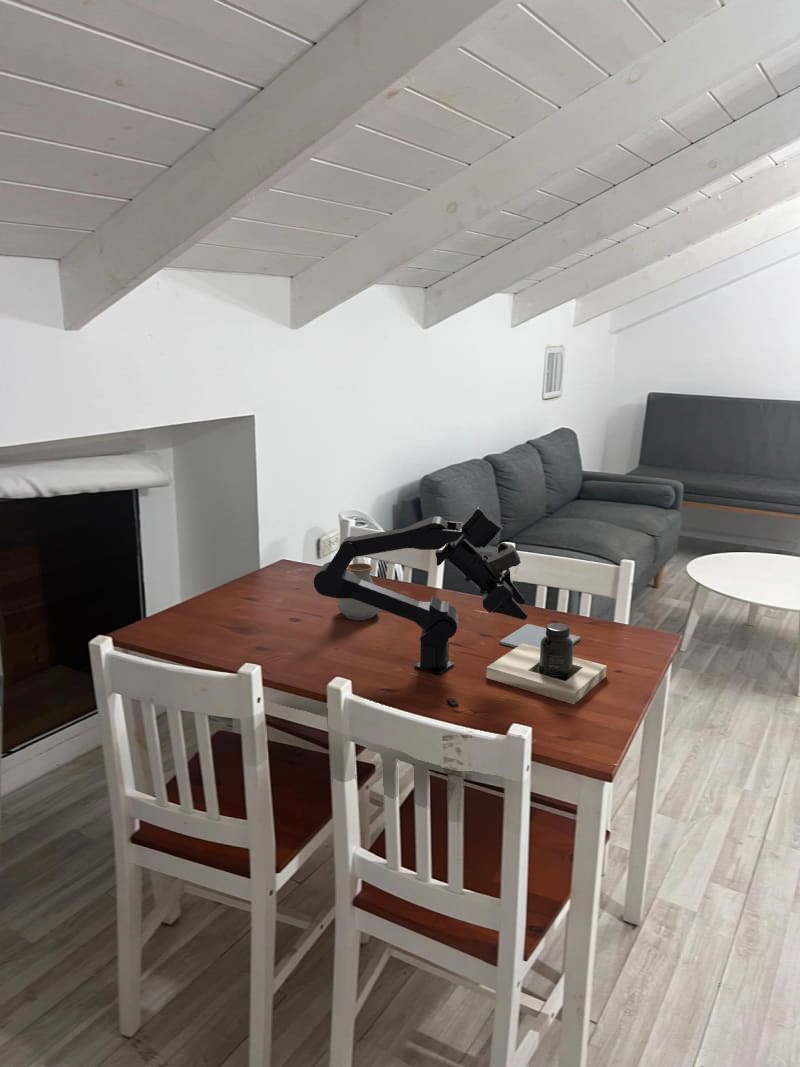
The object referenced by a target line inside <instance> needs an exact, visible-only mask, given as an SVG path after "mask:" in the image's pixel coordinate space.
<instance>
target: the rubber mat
mask: <svg viewBox="0 0 800 1067" xmlns="http://www.w3.org/2000/svg"><path fill="white" fill-rule="evenodd" d="M545 636H546V627H544V626H539V625H535V624H531V623H526V624H524V625H523V626H521V627H520V628H518V629H517V630H515V631H514V632H512V633H510V634H508V635H507V636H506V637H504V638H502V639H500V640H499V644H500V645H504V646H508V647H511V648H513V649H515V648H516V647H518V646H519V645H521V644H522V643H523V644H527V645H531V646H534V647H538V648H540V644H541V640H542V639H543V638H544V637H545ZM569 638H570V639H571V640H572V641H573V644H574V645H575V644H576V643H577V642H579V641H580V640H581V636H578V635H574V634H572V633H570V636H569Z"/></svg>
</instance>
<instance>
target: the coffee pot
mask: <svg viewBox="0 0 800 1067" xmlns="http://www.w3.org/2000/svg"><path fill="white" fill-rule="evenodd" d="M347 569H349V570H350V571H351V572H352V573H354V574H355V575H356V576H357V577H358V578H360V579H361V580H364V581H367V582H369V583H372V584H375V583H374V580H373V579H372V577H371V571H372V570H373V565H371V564H369V563H363V562H359V563H357V562H356V563H350V564H349V566H348V567H347ZM337 608H338V610H339V612H340V613H342V614H343V616H345V617H346V619H350V620H355V621H365V620H370V619H372V618H375V616H376V615H377V614H379V612H381V609H379V608H376V607H373V606H371V605H368V604H365V603H363V602H360V601H357V600H355V599H338V602H337Z"/></svg>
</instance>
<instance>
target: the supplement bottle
mask: <svg viewBox="0 0 800 1067" xmlns="http://www.w3.org/2000/svg"><path fill="white" fill-rule="evenodd" d="M545 628H546V636H545V637H544V638H543V639H542V640H541V644H540V665H539V673H538V674H542V675H545V676H549V677H552V678H556V679H559V680H563V681H567V680H568V679H569V678H570V677H572V676H573V675H572V665H573V657H574V648H575V647H574V646H575V643H574V644H573V641H572V640H571V639H570V638H569V636H570V634H571V633H570V626H569V625H567V624H565V623H561V622H551V623H548V624H546V626H545Z"/></svg>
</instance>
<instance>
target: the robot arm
mask: <svg viewBox="0 0 800 1067" xmlns="http://www.w3.org/2000/svg"><path fill="white" fill-rule="evenodd" d="M503 529H504V527H503V525H502V524H501V522H500V521H499V520H498V519H497V518H496V517H495V516H494V515H492V514H491V513H488V512H487V511H485V510H483V509H481V508H480V506H477V507H476V508H475V509H474V511H473V512H472V514H470V516H469V517H468V518H467V519H466V520H465V521H464V522H461V521H460V522H459V521H450V520H449V521H448V520H446V519H445V518H443V517H442V516H438V515H437V516H431V517H429V518H426V519H423V520H420V521H418V522H416V523H413V524H411V525H409V526H406V527H403V528H402V527H401V528H398V529H392V530H391V529H390V530H386V531H380V532H373V533H368V534H363V535H357V536H347V537H346V538H344V539H343V541H342V543H341V544H340V546H339V549H338V550H337V551H336V553H335V555H334V557H332V559H331V561H328V562H326V563H324V564H323V565H321V567H320V568H319V570H318V572H317V573H316V574H315V576H314V578H313V587H314V589H315V591H316V592H317V593H318V594H319V595H321V596H323V597H329V598H332V599H338V600H339V599H355V600H357V601H360V602H363V603H365V604H368V605H371V606H373V607H376V608H379V609H381V610H382V611H384V612H387V613H390V614H393V615H394V616H398V617H401V618H402V619H403V618H404V619H405V620H408V621H411V622H413V623H415V624H416V625H417V626H418V627H419V628H421V631H420V632H421V633H420V636H419V641H420V645H419V646H420V652H419V654H420V657H419V658H420V659H419V661H418V662H417V663H415V664H414V666H413V667H414V668H416V669H419V670H422V671H425V672H428V673H431V674H433V675H434V674H435V675H440V674H442V673H443V672H445V671H447V670H448V669H450V668H451V667H453V666H454V665H455V662H453V661H450V660H449V655H450V653H449V651H450V644H449V641H450V640H449V639H451V638H453V636H455V634H456V633H457V631H458V630H457V629H458V625H459V624H458V623H459V614H458V612H457V609H456V608H455V607H454V606H453V605H450V604H451V603H450V601H445V600H441V599H439V598H438V597H436V596H431V598H430V601H421V600H417V599H414V598H412V597H409V596H406V595H404V594H401V593H398V592H396V591H394V590H390V589H387V588H385V587H382V586H379V585H377V584H375V583H374V584H372V583H369V582H367V581H364V580H361V579H360V578H358V577H357V576H356V575H355V574H354V573H352V572H351V571H350V570H349V569H347V567H348V566H349V565H350V564H352V561H353V560H354V558H357V557H363V556H368V555H375V554H380V553H387V552H392V551H398V550H404V549H415V550H419V551H423V550H424V551H433V550H435V553H434V555H435V558H436V566H438V567H439V566H441V564H443V562H444V561H446V562H448V563H449V564H450V565H451V566H452V567H454V568H455V570H457V571H458V572H459V573H461V574H462V575H463V579H464V581H466V582H467V583H469V581H470V582H471V583H472V584H473V585H474V586H476V587H477V588H478V592H479V593H480V594H481V595H482V608H484V609H485V610H486V611H487V612H488V613H493V614H494V613H497V614H500V615H504V616H507V617H512V618H516V619H519V620H522V621H526V619H527V618H528V615H527V613H526V611H524V609H522V607H521V606H520V605H524V604H525V603H526V599H525V598H524V596H523V595H522V594H521V593H520V591H519V590H518V588H517V587H516V585H515V584H514V583H513V581H512V580H511V579H512V577H511V568H513V567H517V566H519V565H520V564H521V563H522V562H521V557H520V556H519V554H518V551H517V550H516V547H515V546H514V545H512V544H510V545H509V544H507V543H506V542H504V541H503V542H501V543H499V544H498V545H497V552H494V554H492V555H490V556H489V555H488V554H487V553H484V552H482V553H480V552H479V551H478V550H477V549H480V548H484V549H485V548H487V546H488V545H489V544H490V543H491V542H492V541H493V540H494V539H495V537H497V535H498V534H499V533H500V532H502V530H503ZM504 571H505V572H504ZM381 610H380V611H381Z"/></svg>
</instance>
